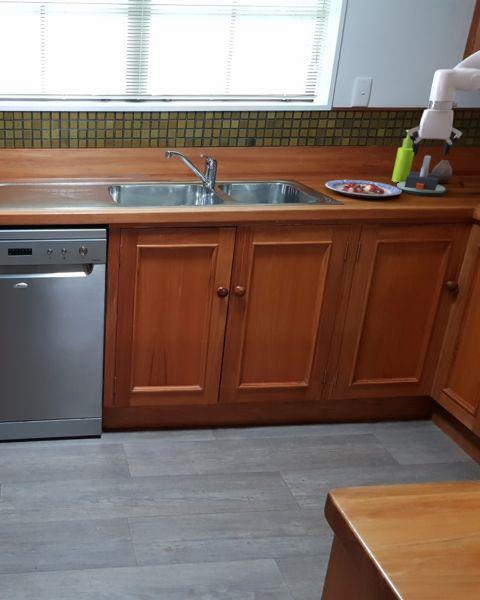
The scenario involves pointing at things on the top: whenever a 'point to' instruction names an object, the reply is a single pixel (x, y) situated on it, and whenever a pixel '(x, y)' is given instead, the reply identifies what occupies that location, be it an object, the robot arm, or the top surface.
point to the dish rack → (422, 180)
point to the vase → (443, 171)
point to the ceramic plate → (363, 188)
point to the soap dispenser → (403, 161)
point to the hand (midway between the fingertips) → (429, 154)
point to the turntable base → (423, 193)
